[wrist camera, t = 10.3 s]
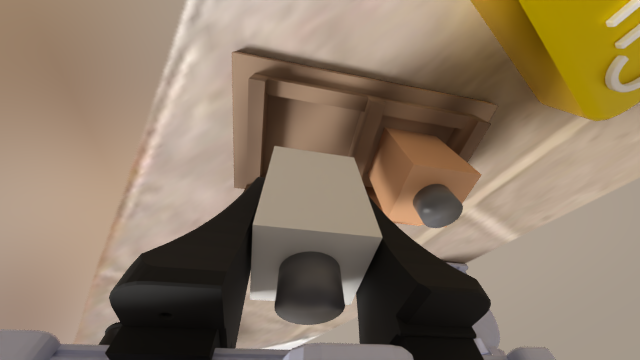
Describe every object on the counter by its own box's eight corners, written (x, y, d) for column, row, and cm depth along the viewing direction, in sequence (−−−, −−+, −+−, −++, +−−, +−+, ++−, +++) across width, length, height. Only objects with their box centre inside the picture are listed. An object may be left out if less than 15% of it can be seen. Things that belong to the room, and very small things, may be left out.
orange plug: (435, 136, 19) (497, 188, 13) (413, 180, 21) (456, 242, 15) (384, 127, 18) (423, 177, 12) (367, 174, 21) (393, 235, 15)
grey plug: (353, 157, 13) (395, 272, 7) (336, 215, 16) (355, 339, 9) (274, 145, 13) (242, 260, 6) (269, 208, 15) (242, 335, 9)
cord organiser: (489, 102, 19) (534, 120, 15) (430, 205, 25) (451, 236, 21) (235, 51, 16) (214, 57, 12) (237, 181, 22) (222, 212, 18)
